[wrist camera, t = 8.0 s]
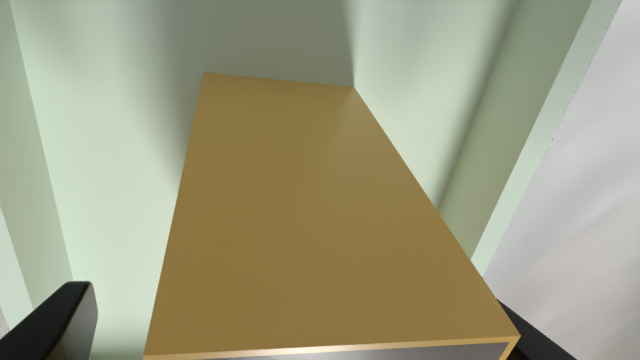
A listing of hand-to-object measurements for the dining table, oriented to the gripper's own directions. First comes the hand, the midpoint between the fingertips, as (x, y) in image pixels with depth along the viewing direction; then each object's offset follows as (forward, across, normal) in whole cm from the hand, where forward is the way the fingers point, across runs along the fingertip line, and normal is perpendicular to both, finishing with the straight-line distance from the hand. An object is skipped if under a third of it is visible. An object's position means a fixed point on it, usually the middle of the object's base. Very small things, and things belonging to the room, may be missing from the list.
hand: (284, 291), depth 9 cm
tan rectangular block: (+4, 0, 0) cm, 5 cm away
